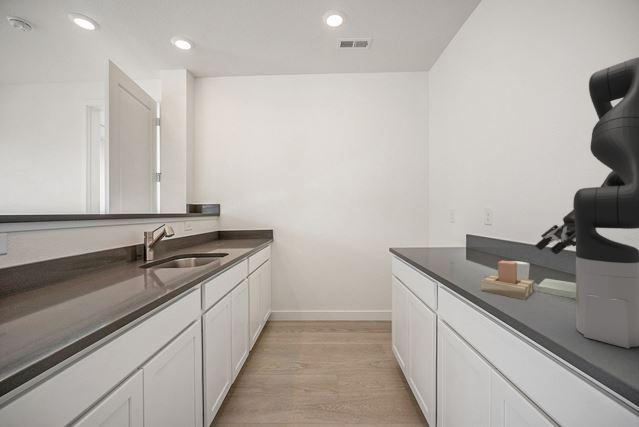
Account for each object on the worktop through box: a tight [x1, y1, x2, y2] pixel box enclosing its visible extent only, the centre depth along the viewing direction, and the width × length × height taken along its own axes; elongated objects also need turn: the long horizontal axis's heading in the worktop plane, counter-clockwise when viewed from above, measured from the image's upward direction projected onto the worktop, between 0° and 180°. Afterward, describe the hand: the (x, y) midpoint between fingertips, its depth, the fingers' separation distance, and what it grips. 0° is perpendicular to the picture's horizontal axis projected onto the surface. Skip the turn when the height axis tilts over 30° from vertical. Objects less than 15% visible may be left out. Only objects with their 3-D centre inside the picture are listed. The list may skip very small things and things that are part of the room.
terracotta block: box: [497, 260, 517, 284], centre depth 86 cm, size 4×4×10 cm
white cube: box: [510, 260, 531, 279], centre depth 100 cm, size 7×7×7 cm
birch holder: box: [480, 273, 536, 300], centre depth 86 cm, size 14×12×4 cm
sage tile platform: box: [537, 278, 576, 300], centre depth 84 cm, size 14×14×2 cm
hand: (544, 250), depth 83 cm, fingers open, 8 cm apart
